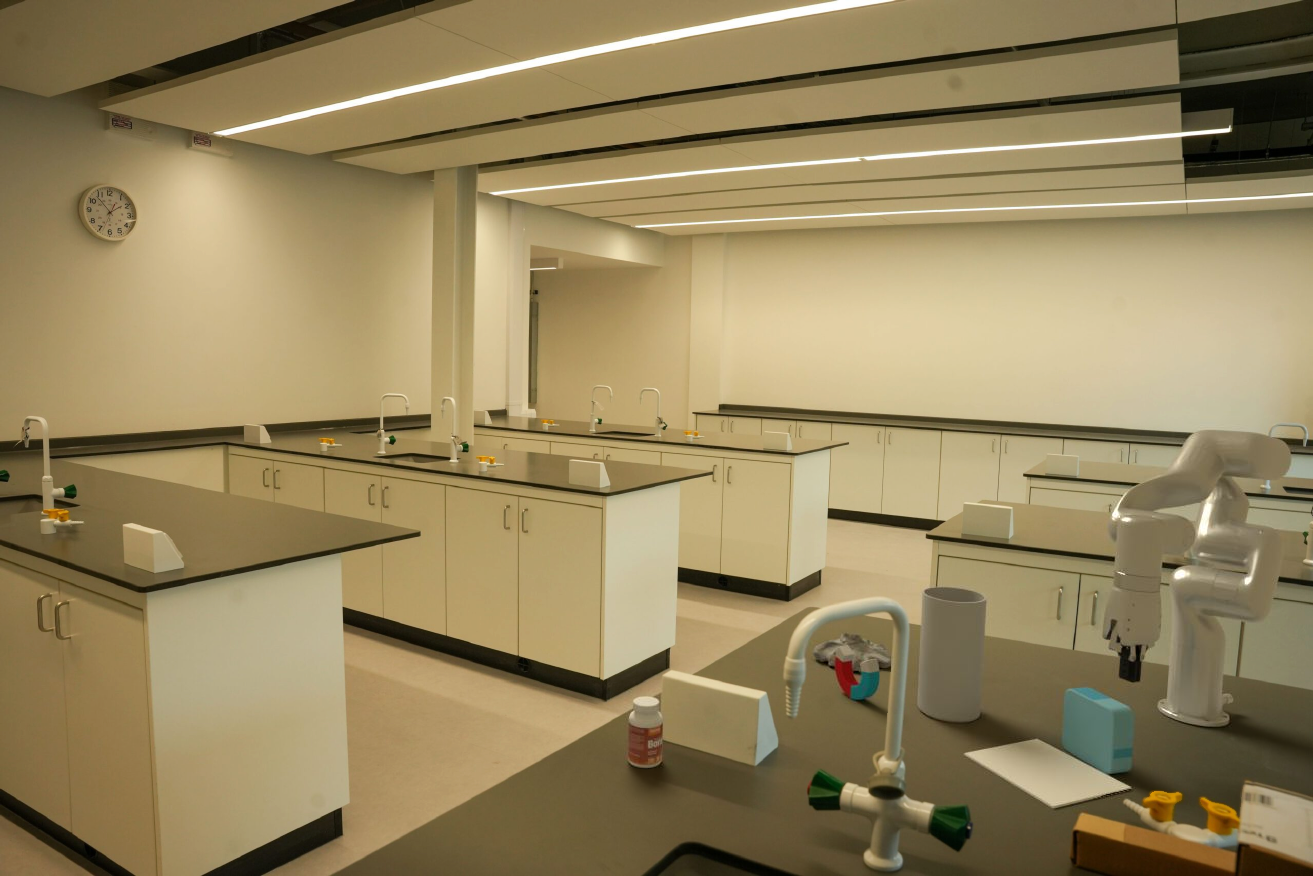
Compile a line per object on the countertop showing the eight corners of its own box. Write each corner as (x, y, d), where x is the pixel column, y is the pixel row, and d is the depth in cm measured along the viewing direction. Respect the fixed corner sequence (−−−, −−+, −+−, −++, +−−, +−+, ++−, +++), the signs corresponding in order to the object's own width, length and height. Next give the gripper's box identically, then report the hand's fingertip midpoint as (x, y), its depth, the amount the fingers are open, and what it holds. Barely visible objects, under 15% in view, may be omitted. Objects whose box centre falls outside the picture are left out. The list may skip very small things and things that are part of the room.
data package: (1131, 775, 146) (1136, 709, 145) (1110, 777, 145) (1115, 711, 144) (1080, 745, 157) (1084, 684, 156) (1060, 747, 156) (1064, 686, 155)
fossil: (857, 631, 214) (887, 616, 201) (875, 673, 210) (907, 660, 197) (801, 651, 207) (828, 636, 194) (819, 694, 203) (848, 682, 190)
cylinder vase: (916, 718, 168) (922, 598, 166) (917, 696, 180) (922, 584, 178) (982, 728, 164) (988, 605, 162) (978, 704, 176) (984, 590, 174)
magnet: (878, 706, 174) (880, 660, 173) (868, 708, 173) (870, 662, 172) (843, 687, 185) (844, 643, 184) (833, 688, 183) (835, 645, 183)
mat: (1036, 740, 159) (1037, 738, 159) (1131, 789, 140) (1131, 787, 140) (964, 755, 152) (964, 753, 152) (1052, 808, 134) (1053, 806, 134)
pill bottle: (651, 772, 143) (652, 711, 142) (621, 764, 146) (622, 703, 145) (668, 758, 148) (669, 699, 148) (639, 750, 152) (640, 692, 151)
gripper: (1146, 575, 158) (1138, 669, 159) (1089, 580, 152) (1082, 677, 153) (1184, 585, 151) (1176, 683, 152) (1126, 589, 145) (1118, 691, 146)
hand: (1129, 679), depth 152 cm, fingers closed
